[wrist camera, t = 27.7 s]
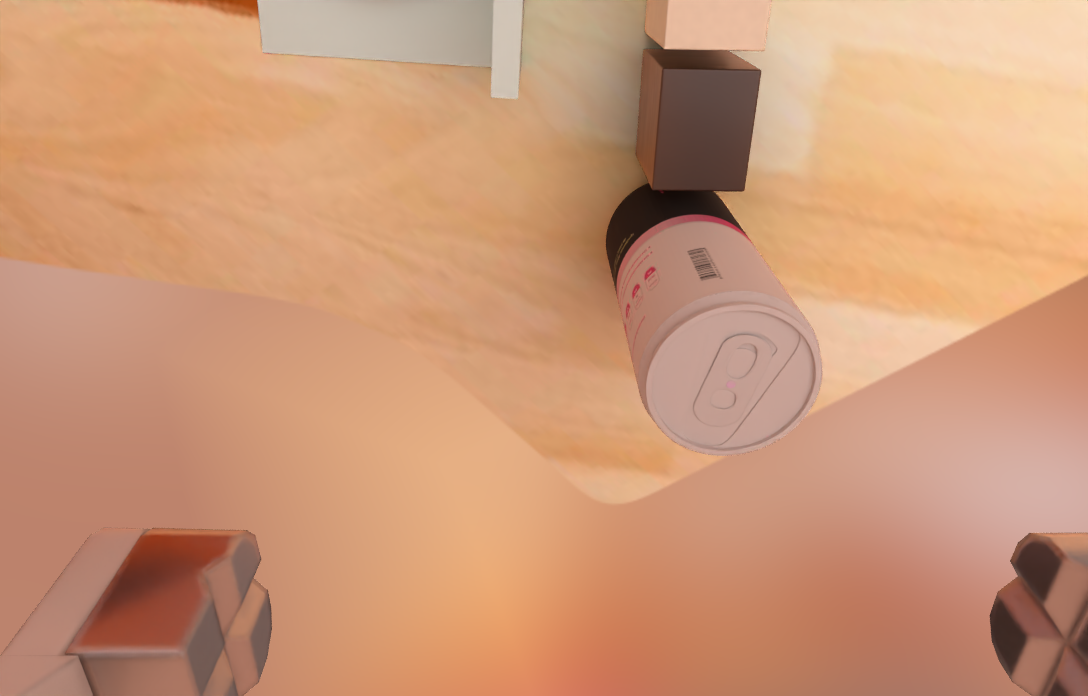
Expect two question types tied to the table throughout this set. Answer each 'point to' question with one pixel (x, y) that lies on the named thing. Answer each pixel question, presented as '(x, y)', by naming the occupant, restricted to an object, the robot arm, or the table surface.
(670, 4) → the light tan block
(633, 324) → the beverage can
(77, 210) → the table surface
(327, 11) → the l-shaped corner panel
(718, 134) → the walnut block
